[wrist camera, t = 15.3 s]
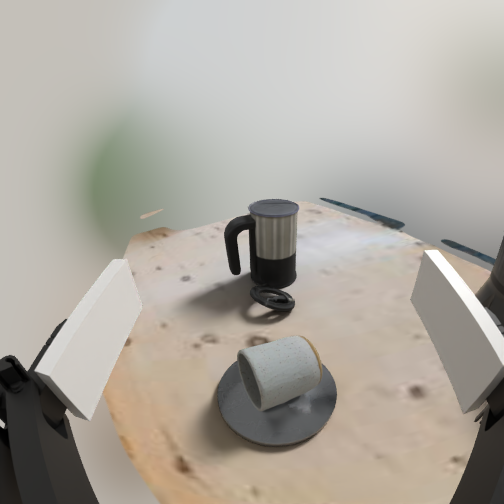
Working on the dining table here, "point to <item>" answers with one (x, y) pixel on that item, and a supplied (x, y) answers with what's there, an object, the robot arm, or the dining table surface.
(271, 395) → the ceramic mug
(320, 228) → the dining table surface
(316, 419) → the plate
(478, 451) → the robot arm
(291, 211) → the milk frother
